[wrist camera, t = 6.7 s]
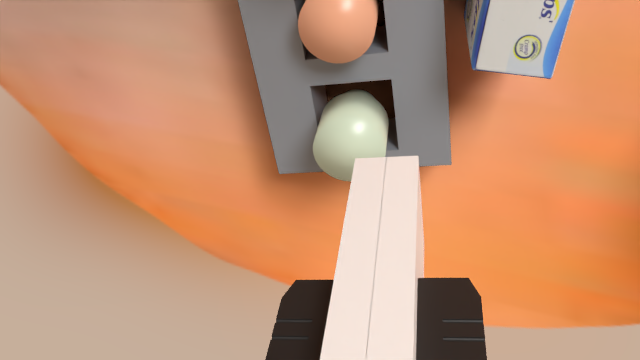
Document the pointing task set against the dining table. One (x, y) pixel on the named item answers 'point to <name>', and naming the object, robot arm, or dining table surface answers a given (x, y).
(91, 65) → the dining table surface
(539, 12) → the medicine box
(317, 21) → the peach egg
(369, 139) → the pale green egg
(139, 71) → the dining table surface
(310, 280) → the robot arm
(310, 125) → the grey slotted tray
